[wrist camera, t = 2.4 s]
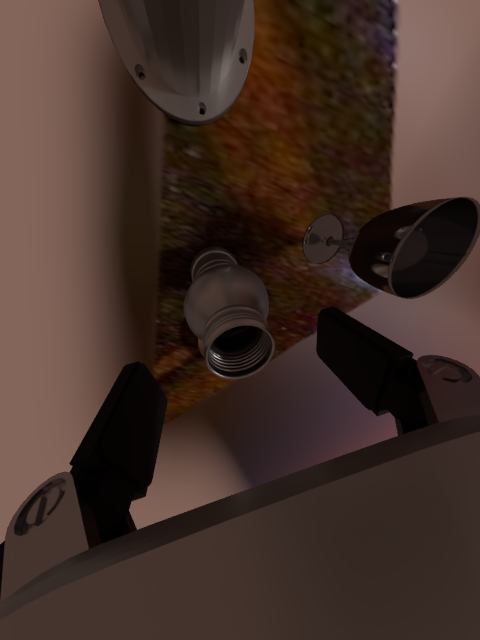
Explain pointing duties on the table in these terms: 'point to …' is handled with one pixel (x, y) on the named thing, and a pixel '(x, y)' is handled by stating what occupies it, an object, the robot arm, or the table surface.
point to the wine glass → (402, 244)
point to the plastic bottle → (228, 314)
